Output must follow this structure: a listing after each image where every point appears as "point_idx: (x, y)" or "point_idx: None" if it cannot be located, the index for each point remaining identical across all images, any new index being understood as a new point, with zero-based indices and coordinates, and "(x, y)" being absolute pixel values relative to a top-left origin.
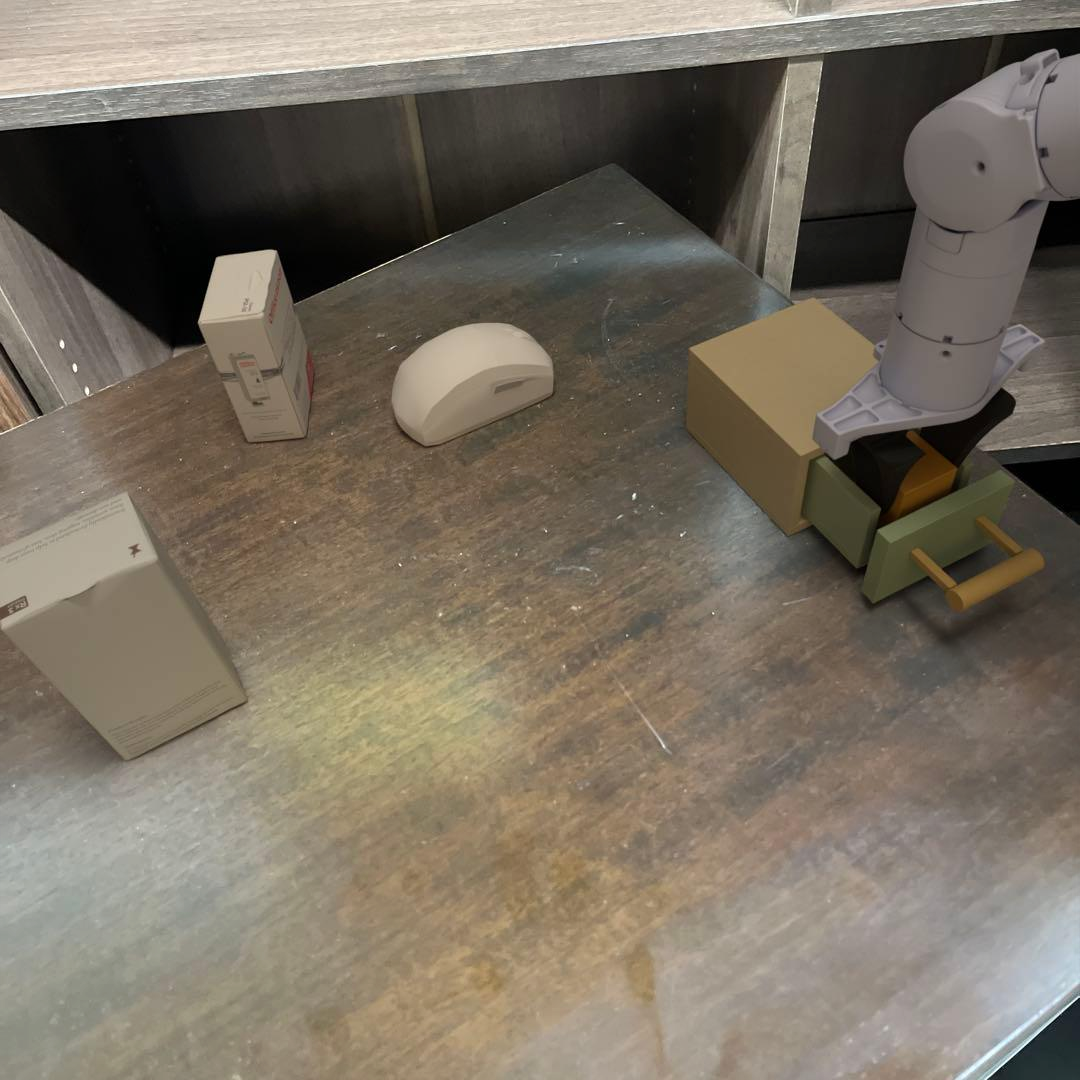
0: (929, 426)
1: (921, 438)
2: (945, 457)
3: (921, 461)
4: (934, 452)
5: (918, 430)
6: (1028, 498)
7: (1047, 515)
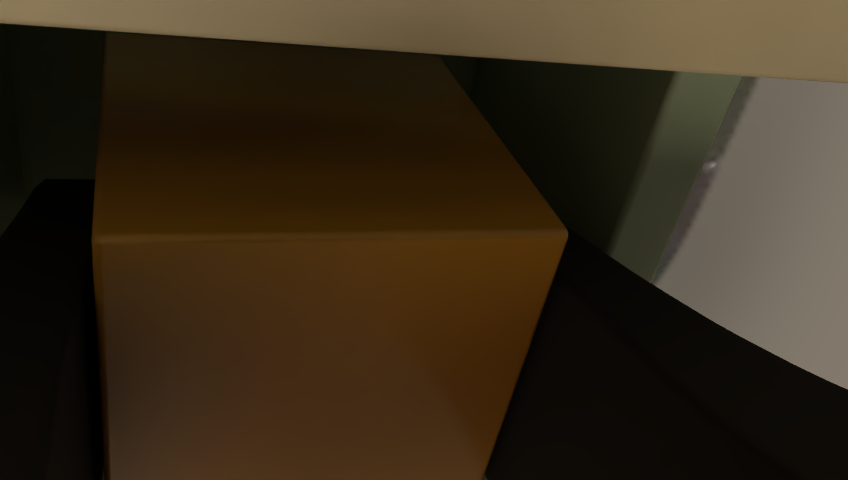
0: (603, 393)
1: (540, 307)
2: (501, 437)
3: (379, 432)
4: (489, 409)
5: (647, 126)
6: (709, 179)
7: (677, 242)
